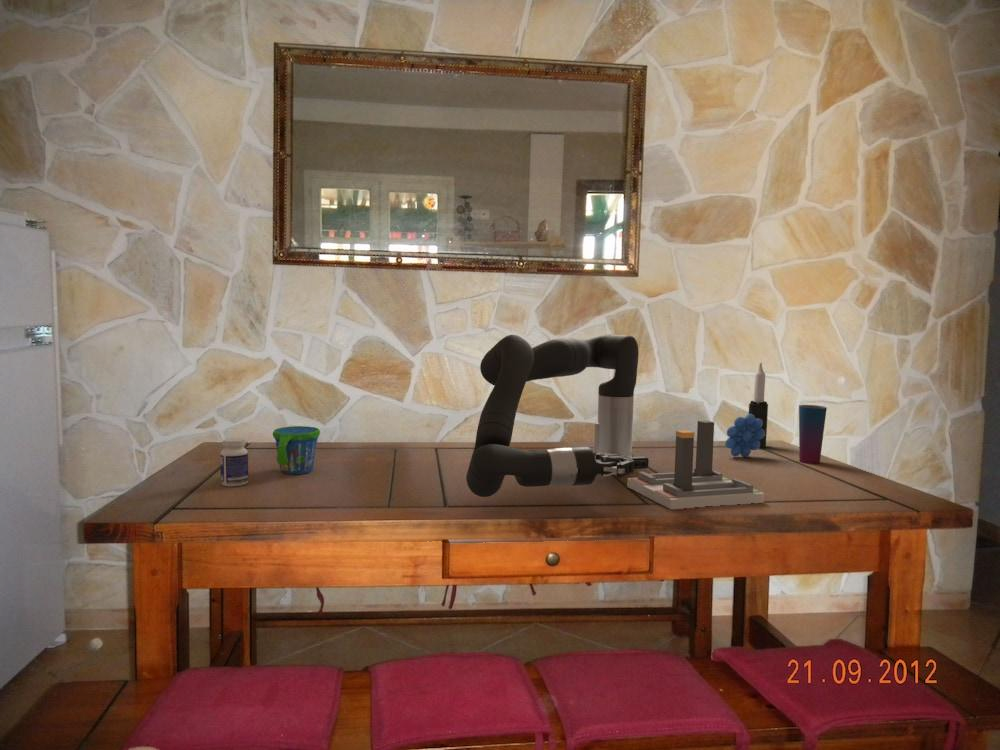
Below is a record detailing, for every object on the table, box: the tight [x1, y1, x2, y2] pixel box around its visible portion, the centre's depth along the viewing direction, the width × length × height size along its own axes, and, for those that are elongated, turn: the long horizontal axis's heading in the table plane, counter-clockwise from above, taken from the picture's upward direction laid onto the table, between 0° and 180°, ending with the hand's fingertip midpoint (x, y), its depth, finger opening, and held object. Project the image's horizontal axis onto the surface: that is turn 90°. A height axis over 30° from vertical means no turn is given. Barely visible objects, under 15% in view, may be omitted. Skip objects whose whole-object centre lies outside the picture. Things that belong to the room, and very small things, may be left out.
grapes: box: [724, 413, 765, 458], centre depth 200 cm, size 12×7×12 cm, turn 102°
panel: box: [627, 420, 765, 510], centre depth 157 cm, size 22×19×15 cm
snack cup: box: [272, 425, 321, 475], centre depth 172 cm, size 16×10×10 cm
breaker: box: [673, 429, 695, 491], centre depth 149 cm, size 3×3×13 cm
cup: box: [798, 404, 828, 464], centre depth 194 cm, size 7×7×15 cm
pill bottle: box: [219, 437, 249, 487], centre depth 159 cm, size 6×6×10 cm
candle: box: [748, 362, 769, 449], centre depth 215 cm, size 5×5×25 cm
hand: (646, 462), depth 147 cm, fingers closed
